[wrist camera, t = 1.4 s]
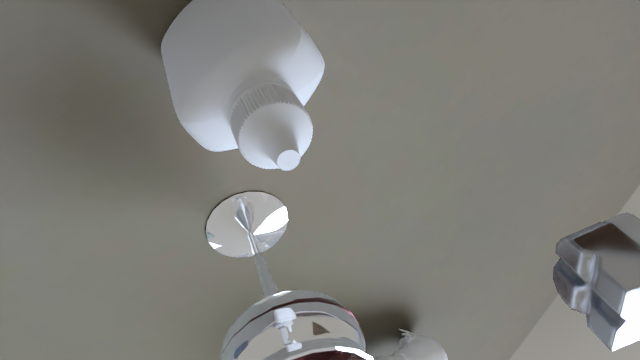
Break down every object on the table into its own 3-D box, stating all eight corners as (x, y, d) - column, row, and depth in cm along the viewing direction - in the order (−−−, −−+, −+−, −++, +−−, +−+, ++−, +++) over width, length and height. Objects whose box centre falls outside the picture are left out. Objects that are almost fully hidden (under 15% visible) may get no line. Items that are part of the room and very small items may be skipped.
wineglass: (208, 169, 29) (258, 345, 19) (318, 187, 32) (407, 345, 22) (176, 264, 32) (207, 456, 22) (280, 272, 35) (345, 442, 25)
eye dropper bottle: (281, 60, 26) (376, 198, 17) (167, 79, 25) (203, 240, 16) (273, -31, 24) (381, 73, 15) (146, -15, 23) (174, 111, 13)
